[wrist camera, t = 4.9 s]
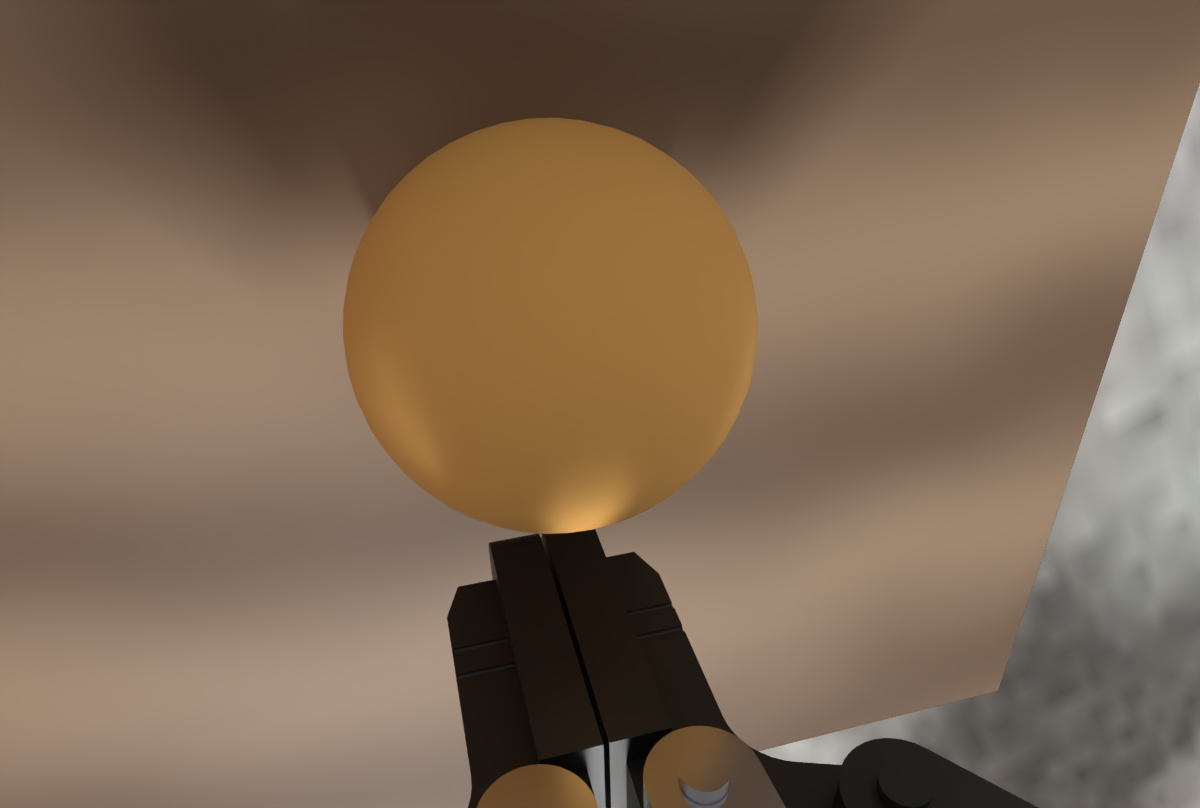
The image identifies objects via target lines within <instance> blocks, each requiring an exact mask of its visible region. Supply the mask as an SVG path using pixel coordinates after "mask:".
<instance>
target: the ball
mask: <svg viewBox="0 0 1200 808" xmlns="http://www.w3.org/2000/svg"><path fill="white" fill-rule="evenodd" d="M757 339H758V314H757V307H756V300H755V292H754V285H753V279H752V276H751V272H750V269H749V265H748V262H747V259H746V256H745V254H744V251H743V249H742V247H741V244H740V242H739V240H738V238H737V236H736V234H735V231H734V229H733V227H732V225H731V223H730V221H729V220H728V218H727V217H726V215H725V214H724V212H723V211H722V209H721V208H720V206H719V205H718V203H717V202H716V201H715V200H714V198H713V197H712V196H711V195H710V193H709V192H708V191H707V190H706V189H705V188H704V187H703V186H702V184H701V183H700V182H699V181H698V180H697V179H696V178H695V177H694V176H693V175H692V174H691V173H690V172H689V171H688V170H686V169H685V168H684V167H683V166H681V165H680V164H679V163H678V162H676V161H675V160H674V159H673V158H671V157H670V156H668V155H667V154H666V153H664V152H663V151H661V150H659V149H657V148H656V147H654V146H652V145H651V144H649V143H647V142H646V141H644V140H642V139H640V138H638V137H635V136H633V135H631V134H628V133H626V132H623V131H621V130H618V129H616V128H612V127H607V126H603V125H599V124H595V123H591V122H587V121H583V120H574V119H565V118H529V119H523V120H517V121H511V122H505V123H500V124H497V125H494V126H490V127H487V128H484V129H481V130H478V131H475V132H473V133H470V134H468V135H466V136H464V137H462V138H459V139H457V140H455V141H453V142H451V143H449V144H448V145H446V146H444V147H443V148H441V149H440V150H438V151H436V152H435V153H433V154H432V155H430V156H429V157H427V158H426V159H425V160H423V161H422V162H421V163H420V164H419V165H417V166H416V167H415V168H414V169H413V170H411V171H410V172H409V173H408V174H407V175H406V176H405V177H404V178H403V179H402V180H401V181H400V182H399V183H398V184H397V186H396V187H395V188H394V189H393V190H392V191H391V192H390V193H389V194H388V196H387V197H386V199H385V200H384V201H383V203H382V204H381V206H380V207H379V209H378V210H377V212H376V213H375V215H374V216H373V218H372V220H371V221H370V223H369V225H368V227H367V229H366V231H365V233H364V235H363V237H362V239H361V241H360V243H359V245H358V247H357V250H356V253H355V256H354V259H353V262H352V265H351V268H350V272H349V276H348V282H347V288H346V294H345V300H344V308H343V341H344V348H345V356H346V362H347V368H348V374H349V377H350V381H351V384H352V387H353V391H354V394H355V397H356V399H357V401H358V404H359V406H360V408H361V410H362V412H363V414H364V416H365V418H366V420H367V423H368V425H369V427H370V429H371V431H372V433H373V434H374V435H375V437H376V438H377V440H378V441H379V443H380V444H381V446H382V447H383V449H384V450H385V451H386V453H387V454H388V455H389V456H390V457H391V459H392V460H393V461H394V462H395V463H396V464H397V465H398V466H399V467H400V469H401V470H402V471H403V472H404V473H405V474H406V475H407V476H408V477H409V478H410V479H411V480H412V481H413V482H415V483H416V484H417V485H418V486H420V487H421V488H422V489H423V490H425V491H426V492H427V493H429V494H430V495H431V496H433V497H434V498H436V499H437V500H439V501H441V502H442V503H444V504H445V505H447V506H449V507H450V508H452V509H454V510H455V511H457V512H460V513H462V514H464V515H466V516H469V517H471V518H473V519H475V520H479V521H482V522H485V523H488V524H492V525H495V526H498V527H501V528H505V529H509V530H515V531H521V532H527V533H541V534H555V533H572V532H579V531H586V530H593V529H597V528H601V527H605V526H609V525H612V524H615V523H618V522H621V521H624V520H627V519H630V518H632V517H634V516H636V515H638V514H640V513H642V512H645V511H647V510H648V509H650V508H652V507H654V506H655V505H657V504H659V503H660V502H662V501H664V500H665V499H667V498H668V497H669V496H671V495H672V494H673V493H675V492H676V491H678V490H679V489H680V488H681V487H682V486H683V485H685V484H686V483H687V482H688V481H689V480H690V479H691V478H692V477H694V476H695V475H696V474H697V473H698V472H699V471H700V470H701V469H702V468H703V466H704V465H705V464H706V463H707V462H708V461H709V460H710V459H711V458H712V457H713V455H714V454H715V452H716V451H717V450H718V448H719V447H720V446H721V444H722V443H723V441H724V440H725V438H726V437H727V435H728V433H729V431H730V430H731V428H732V426H733V424H734V422H735V420H736V418H737V416H738V414H739V411H740V409H741V406H742V404H743V402H744V399H745V397H746V395H747V392H748V388H749V385H750V381H751V378H752V374H753V369H754V362H755V355H756V347H757Z"/></svg>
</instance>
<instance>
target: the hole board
mask: <svg viewBox="0 0 1200 808" xmlns="http://www.w3.org/2000/svg"><path fill="white" fill-rule="evenodd" d="M1199 83H1200V0H0V808H468V805H469V802H470V798H471V789H472V783H471V773H470V766H469V759H468V753H467V746H466V740H465V733H464V727H463V720H462V713H461V707H460V700H459V694H458V687H457V680H456V674H455V667H454V661H453V654H452V648H451V641H450V634H449V628H448V621H447V616H448V613H449V610H450V607H451V605H452V602H453V599H454V596H455V593H456V591H457V588H458V587H459V586H464V585H469V584H474V583H479V582H484V581H490V580H492V571H491V563H490V555H489V543H490V542H495V541H500V540H505V539H511V538H516V537H521V536H527V535H532V534H537V533H527V532H521V531H515V530H509V529H505V528H501V527H498V526H495V525H492V524H488V523H485V522H482V521H479V520H475V519H473V518H471V517H469V516H466V515H464V514H462V513H460V512H457V511H455V510H454V509H452V508H450V507H449V506H447V505H445V504H444V503H442V502H441V501H439V500H437V499H436V498H434V497H433V496H431V495H430V494H429V493H427V492H426V491H425V490H423V489H422V488H421V487H420V486H418V485H417V484H416V483H415V482H413V481H412V480H411V479H410V478H409V477H408V476H407V475H406V474H405V473H404V472H403V471H402V470H401V469H400V467H399V466H398V465H397V464H396V463H395V462H394V461H393V460H392V459H391V457H390V456H389V455H388V454H387V453H386V451H385V450H384V449H383V447H382V446H381V444H380V443H379V441H378V440H377V438H376V437H375V435H374V434H373V433H372V431H371V429H370V427H369V425H368V423H367V420H366V418H365V416H364V414H363V412H362V410H361V408H360V406H359V404H358V401H357V399H356V397H355V394H354V391H353V387H352V384H351V381H350V377H349V374H348V368H347V362H346V356H345V348H344V341H343V308H344V300H345V294H346V288H347V282H348V276H349V272H350V268H351V265H352V262H353V259H354V256H355V253H356V250H357V247H358V245H359V243H360V241H361V239H362V237H363V235H364V233H365V231H366V229H367V227H368V225H369V223H370V221H371V220H372V218H373V216H374V215H375V213H376V212H377V210H378V209H379V207H380V206H381V204H382V203H383V201H384V200H385V199H386V197H387V196H388V194H389V193H390V192H391V191H392V190H393V189H394V188H395V187H396V186H397V184H398V183H399V182H400V181H401V180H402V179H403V178H404V177H405V176H406V175H407V174H408V173H409V172H410V171H411V170H413V169H414V168H415V167H416V166H417V165H419V164H420V163H421V162H422V161H423V160H425V159H426V158H427V157H429V156H430V155H432V154H433V153H435V152H436V151H438V150H440V149H441V148H443V147H444V146H446V145H448V144H449V143H451V142H453V141H455V140H457V139H459V138H462V137H464V136H466V135H468V134H470V133H473V132H475V131H478V130H481V129H484V128H487V127H490V126H494V125H497V124H500V123H505V122H511V121H517V120H523V119H529V118H565V119H574V120H583V121H587V122H591V123H595V124H599V125H603V126H607V127H612V128H616V129H618V130H621V131H623V132H626V133H628V134H631V135H633V136H635V137H638V138H640V139H642V140H644V141H646V142H647V143H649V144H651V145H652V146H654V147H656V148H657V149H659V150H661V151H663V152H664V153H666V154H667V155H668V156H670V157H671V158H673V159H674V160H675V161H676V162H678V163H679V164H680V165H681V166H683V167H684V168H685V169H686V170H688V171H689V172H690V173H691V174H692V175H693V176H694V177H695V178H696V179H697V180H698V181H699V182H700V183H701V184H702V186H703V187H704V188H705V189H706V190H707V191H708V192H709V193H710V195H711V196H712V197H713V198H714V200H715V201H716V202H717V203H718V205H719V206H720V208H721V209H722V211H723V212H724V214H725V215H726V217H727V218H728V220H729V221H730V223H731V225H732V227H733V229H734V231H735V234H736V236H737V238H738V240H739V242H740V244H741V247H742V249H743V251H744V254H745V256H746V259H747V262H748V265H749V269H750V272H751V276H752V279H753V285H754V292H755V300H756V307H757V314H758V339H757V347H756V355H755V362H754V369H753V374H752V378H751V381H750V385H749V388H748V392H747V395H746V397H745V399H744V402H743V404H742V406H741V409H740V411H739V414H738V416H737V418H736V420H735V422H734V424H733V426H732V428H731V430H730V431H729V433H728V435H727V437H726V438H725V440H724V441H723V443H722V444H721V446H720V447H719V448H718V450H717V451H716V452H715V454H714V455H713V457H712V458H711V459H710V460H709V461H708V462H707V463H706V464H705V465H704V466H703V468H702V469H701V470H700V471H699V472H698V473H697V474H696V475H695V476H694V477H692V478H691V479H690V480H689V481H688V482H687V483H686V484H685V485H683V486H682V487H681V488H680V489H679V490H678V491H676V492H675V493H673V494H672V495H671V496H669V497H668V498H667V499H665V500H664V501H662V502H660V503H659V504H657V505H655V506H654V507H652V508H650V509H648V510H647V511H645V512H642V513H640V514H638V515H636V516H634V517H632V518H630V519H627V520H624V521H621V522H618V523H615V524H612V525H609V526H605V527H601V528H597V529H595V530H596V532H597V535H598V537H599V540H600V542H601V545H602V548H603V550H604V553H605V555H606V557H610V556H615V555H620V554H625V553H630V552H635V553H636V554H637V555H638V556H640V557H641V558H642V559H643V560H644V561H645V562H646V563H648V564H649V565H650V566H651V567H652V568H653V569H654V570H655V571H657V572H658V573H659V574H660V577H661V579H662V581H663V583H664V586H665V588H666V590H667V592H668V595H669V597H670V599H671V601H672V606H673V608H675V610H676V613H677V615H678V617H679V619H680V621H681V624H682V628H683V631H685V633H686V635H687V637H688V639H689V642H690V644H691V646H692V648H693V651H694V653H695V655H696V657H697V659H698V662H699V664H700V666H701V668H702V671H703V673H704V675H705V677H706V680H707V682H708V684H709V686H710V689H711V691H712V693H713V695H714V698H715V700H716V702H717V704H718V706H719V709H720V711H721V713H722V715H723V717H724V719H725V721H726V723H727V724H728V726H729V727H730V728H731V730H732V731H733V732H734V733H735V734H736V735H737V736H738V737H739V738H740V739H741V740H742V741H743V742H745V743H746V744H747V745H748V746H750V747H751V748H753V749H755V750H757V751H761V750H765V749H769V748H773V747H777V746H781V745H785V744H789V743H793V742H797V741H801V740H805V739H809V738H813V737H817V736H821V735H824V734H828V733H832V732H836V731H840V730H844V729H848V728H852V727H856V726H860V725H864V724H868V723H872V722H876V721H880V720H884V719H888V718H892V717H896V716H900V715H904V714H908V713H912V712H916V711H920V710H924V709H928V708H932V707H936V706H940V705H944V704H947V703H951V702H955V701H959V700H963V699H967V698H971V697H975V696H979V695H983V694H987V693H991V692H995V691H998V689H999V686H1000V683H1001V680H1002V677H1003V674H1004V671H1005V668H1006V665H1007V662H1008V659H1009V656H1010V653H1011V650H1012V647H1013V644H1014V641H1015V638H1016V635H1017V632H1018V629H1019V626H1020V623H1021V620H1022V617H1023V614H1024V611H1025V608H1026V605H1027V602H1028V599H1029V596H1030V593H1031V590H1032V587H1033V584H1034V581H1035V578H1036V575H1037V572H1038V569H1039V566H1040V563H1041V560H1042V557H1043V554H1044V551H1045V548H1046V545H1047V542H1048V539H1049V536H1050V533H1051V530H1052V527H1053V523H1054V520H1055V517H1056V514H1057V511H1058V508H1059V505H1060V502H1061V499H1062V496H1063V493H1064V490H1065V487H1066V484H1067V481H1068V478H1069V475H1070V472H1071V469H1072V466H1073V463H1074V460H1075V457H1076V454H1077V451H1078V448H1079V445H1080V442H1081V439H1082V436H1083V433H1084V430H1085V427H1086V424H1087V421H1088V418H1089V415H1090V412H1091V409H1092V406H1093V403H1094V400H1095V397H1096V394H1097V391H1098V388H1099V385H1100V382H1101V379H1102V376H1103V373H1104V370H1105V367H1106V364H1107V361H1108V358H1109V355H1110V352H1111V349H1112V346H1113V343H1114V340H1115V336H1116V333H1117V330H1118V327H1119V324H1120V321H1121V318H1122V315H1123V312H1124V309H1125V306H1126V303H1127V300H1128V297H1129V294H1130V291H1131V288H1132V285H1133V282H1134V279H1135V276H1136V273H1137V270H1138V267H1139V264H1140V261H1141V258H1142V255H1143V252H1144V249H1145V246H1146V243H1147V240H1148V237H1149V234H1150V231H1151V228H1152V225H1153V222H1154V219H1155V216H1156V213H1157V210H1158V207H1159V204H1160V201H1161V198H1162V195H1163V192H1164V189H1165V186H1166V183H1167V180H1168V177H1169V174H1170V171H1171V168H1172V165H1173V162H1174V159H1175V156H1176V152H1177V149H1178V146H1179V143H1180V140H1181V137H1182V134H1183V131H1184V128H1185V125H1186V122H1187V119H1188V116H1189V113H1190V110H1191V107H1192V104H1193V101H1194V98H1195V95H1196V92H1197V89H1198V86H1199ZM538 534H539V535H540V537H541V536H542V534H541V533H538Z"/></svg>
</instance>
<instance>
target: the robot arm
mask: <svg viewBox="0 0 1200 808" xmlns="http://www.w3.org/2000/svg"><path fill="white" fill-rule="evenodd" d="M489 555H490V563H491V571H492V580H490V581H484V582H479V583H474V584H469V585H464V586H459V587H458V588H457V591H456V593H455V596H454V599H453V602H452V605H451V607H450V610H449V613H448V616H447V621H448V628H449V634H450V641H451V648H452V654H453V661H454V667H455V674H456V680H457V687H458V694H459V700H460V707H461V713H462V720H463V727H464V733H465V740H466V746H467V753H468V759H469V766H470V773H471V783H472V789H471V798H470V802H469V805H468V808H1038V807H1036V806H1034V805H1032V804H1030V803H1028V802H1026V801H1024V800H1022V799H1021V798H1019V797H1017V796H1015V795H1013V794H1011V793H1009V792H1007V791H1005V790H1004V789H1002V788H1000V787H998V786H996V785H994V784H992V783H990V782H988V781H987V780H985V779H983V778H981V777H979V776H977V775H975V774H973V773H971V772H970V771H968V770H966V769H964V768H962V767H960V766H958V765H956V764H954V763H953V762H951V761H949V760H947V759H945V758H943V757H941V756H939V755H937V754H935V753H934V752H932V751H930V750H928V749H926V748H924V747H922V746H919V745H917V744H915V743H912V742H908V741H905V740H900V739H891V738H882V739H875V740H871V741H868V742H865V743H863V744H861V745H859V746H857V747H856V748H855V749H853V750H852V751H851V752H850V753H849V754H848V756H847V757H846V758H845V760H844V762H843V764H842V765H831V764H817V763H803V762H792V761H784V760H780V759H776V758H773V757H770V756H767V755H765V754H762V753H760V752H758V751H757V750H755V749H753V748H751V747H750V746H748V745H747V744H746V743H745V742H743V741H742V740H741V739H740V738H739V737H738V736H737V735H736V734H735V733H734V732H733V731H732V730H731V728H730V727H729V726H728V724H727V723H726V721H725V719H724V717H723V715H722V713H721V711H720V709H719V706H718V704H717V702H716V700H715V698H714V695H713V693H712V691H711V689H710V686H709V684H708V682H707V680H706V677H705V675H704V673H703V671H702V668H701V666H700V664H699V662H698V659H697V657H696V655H695V653H694V651H693V648H692V646H691V644H690V642H689V639H688V637H687V635H686V633H685V631H683V628H682V624H681V621H680V619H679V617H678V615H677V613H676V610H675V608H673V606H672V601H671V599H670V597H669V595H668V592H667V590H666V588H665V586H664V583H663V581H662V579H661V577H660V574H659V573H658V572H657V571H655V570H654V569H653V568H652V567H651V566H650V565H649V564H648V563H646V562H645V561H644V560H643V559H642V558H641V557H640V556H638V555H637V554H636V553H635V552H630V553H625V554H620V555H615V556H610V557H606V555H605V553H604V550H603V548H602V545H601V542H600V540H599V537H598V535H597V532H596V530H595V529H593V530H586V531H579V532H572V533H555V534H542V536H541V537H540V535H539V534H538V533H537V534H532V535H527V536H521V537H516V538H511V539H505V540H500V541H495V542H490V543H489Z"/></svg>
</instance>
